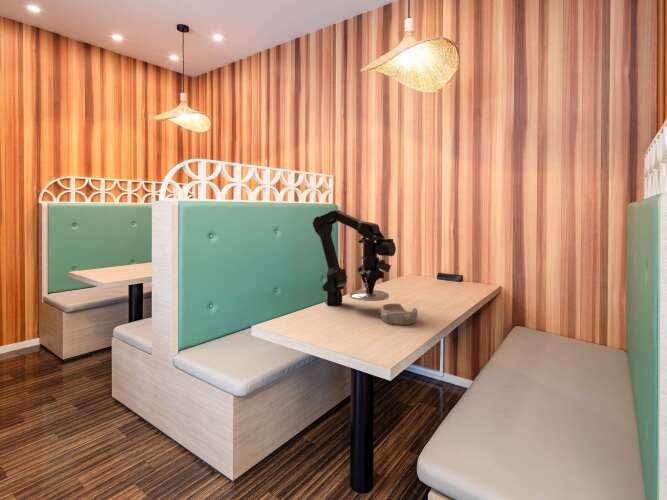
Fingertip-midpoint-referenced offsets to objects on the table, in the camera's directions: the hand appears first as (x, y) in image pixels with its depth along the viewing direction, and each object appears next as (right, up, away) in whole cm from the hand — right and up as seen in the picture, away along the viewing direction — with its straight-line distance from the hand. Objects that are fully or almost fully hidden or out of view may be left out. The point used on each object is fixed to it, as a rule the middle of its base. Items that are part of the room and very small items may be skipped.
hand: (369, 292), depth 154 cm
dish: (+10, -10, -12) cm, 18 cm away
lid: (0, -2, 0) cm, 2 cm away
